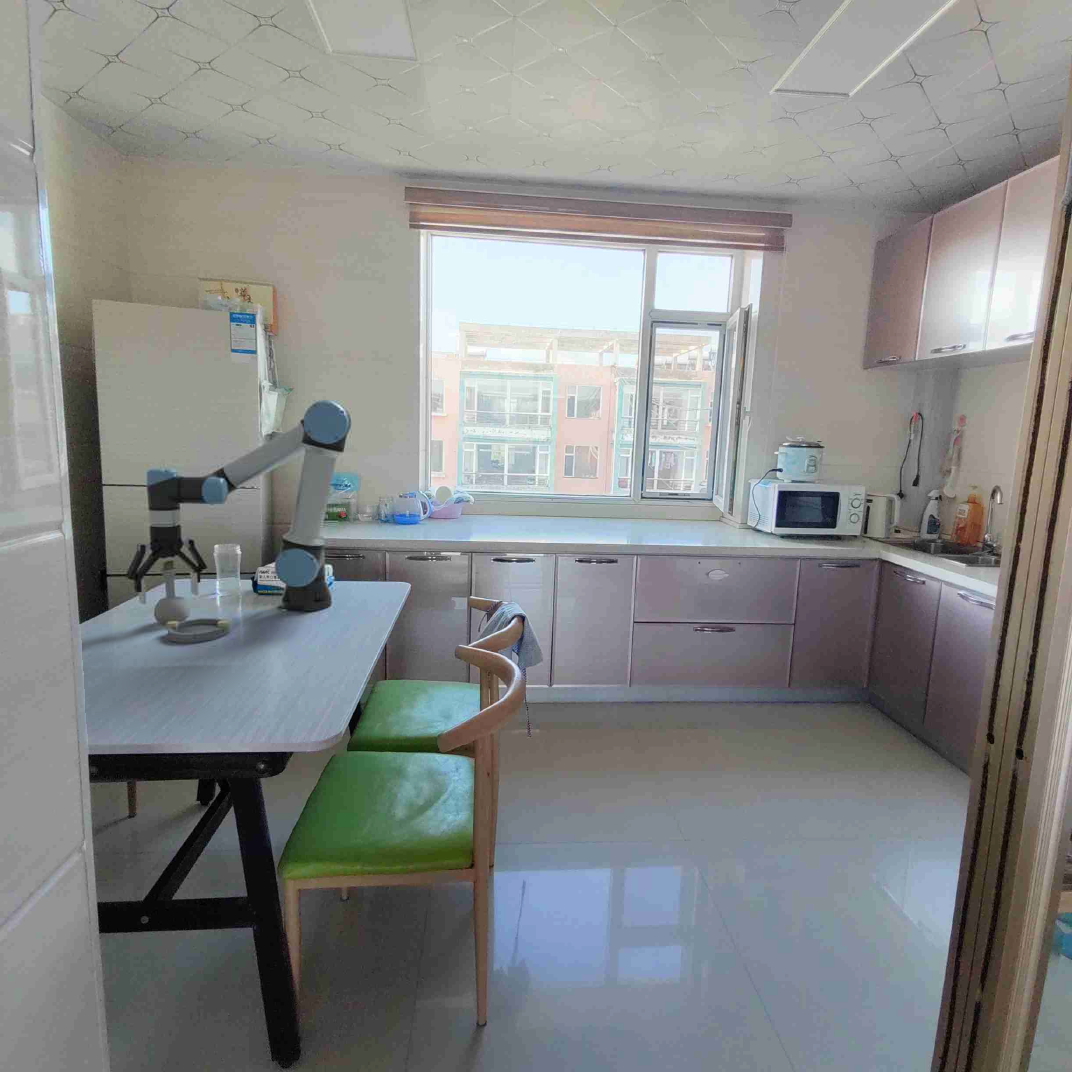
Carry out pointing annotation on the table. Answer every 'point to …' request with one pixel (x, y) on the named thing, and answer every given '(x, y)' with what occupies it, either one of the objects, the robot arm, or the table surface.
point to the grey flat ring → (197, 630)
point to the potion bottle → (170, 600)
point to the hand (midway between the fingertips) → (169, 598)
